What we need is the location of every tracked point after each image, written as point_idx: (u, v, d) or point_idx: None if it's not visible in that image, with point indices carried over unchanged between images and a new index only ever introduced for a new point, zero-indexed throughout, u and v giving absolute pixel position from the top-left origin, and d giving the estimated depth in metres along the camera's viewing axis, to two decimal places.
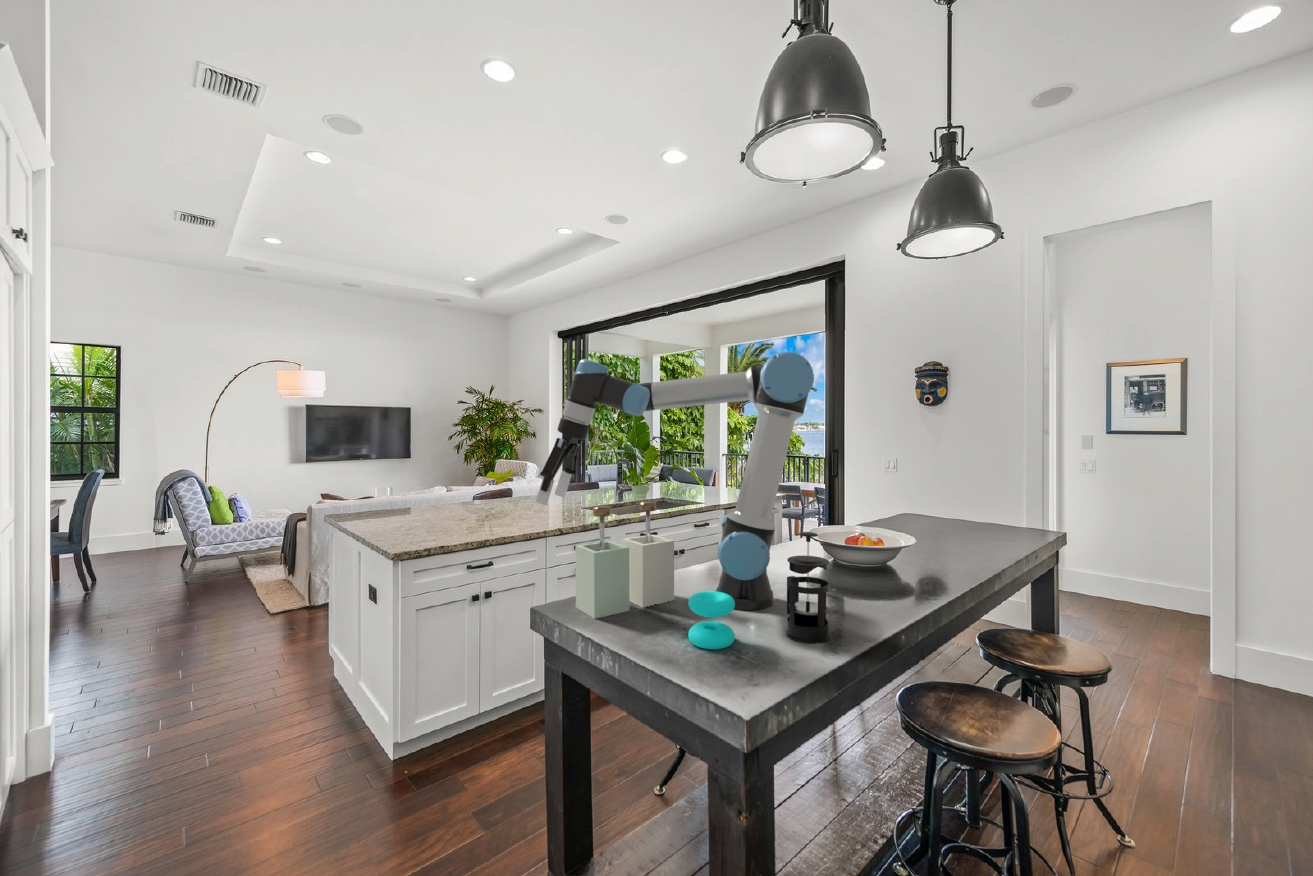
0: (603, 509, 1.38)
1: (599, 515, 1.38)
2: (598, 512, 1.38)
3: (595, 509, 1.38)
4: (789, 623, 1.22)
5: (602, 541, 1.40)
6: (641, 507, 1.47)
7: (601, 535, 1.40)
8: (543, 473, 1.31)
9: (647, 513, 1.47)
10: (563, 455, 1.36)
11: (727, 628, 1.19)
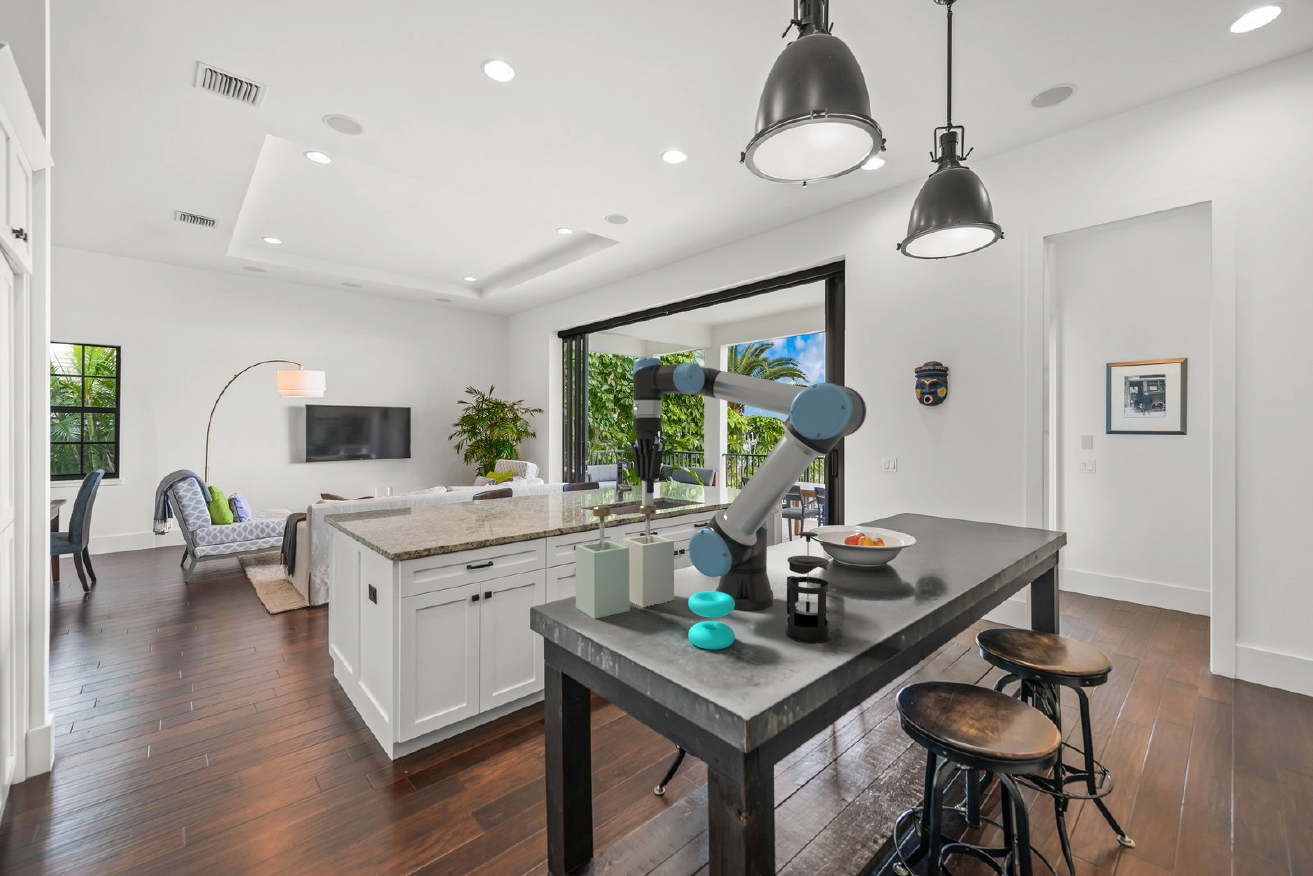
0: (603, 509, 1.38)
1: (599, 515, 1.38)
2: (598, 512, 1.38)
3: (595, 509, 1.38)
4: (789, 623, 1.22)
5: (602, 541, 1.40)
6: (641, 510, 1.47)
7: (601, 535, 1.40)
8: (653, 477, 1.44)
9: (647, 516, 1.47)
10: None
11: (727, 628, 1.19)
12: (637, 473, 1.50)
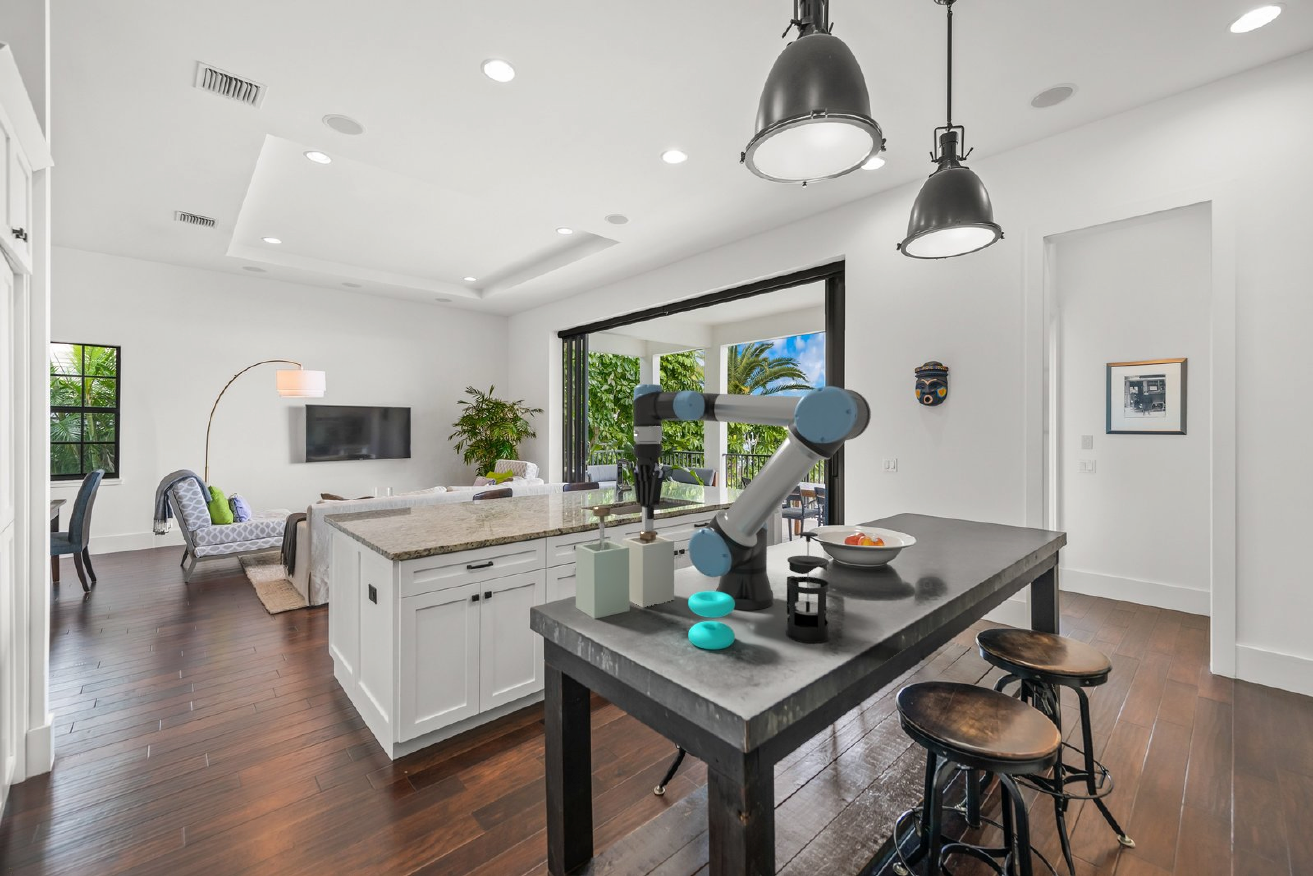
0: (603, 509, 1.38)
1: (599, 515, 1.38)
2: (598, 512, 1.38)
3: (595, 509, 1.38)
4: (789, 623, 1.22)
5: (602, 541, 1.40)
6: (641, 536, 1.47)
7: (601, 535, 1.40)
8: (653, 503, 1.45)
9: (647, 542, 1.48)
10: None
11: (727, 628, 1.19)
12: (637, 499, 1.50)
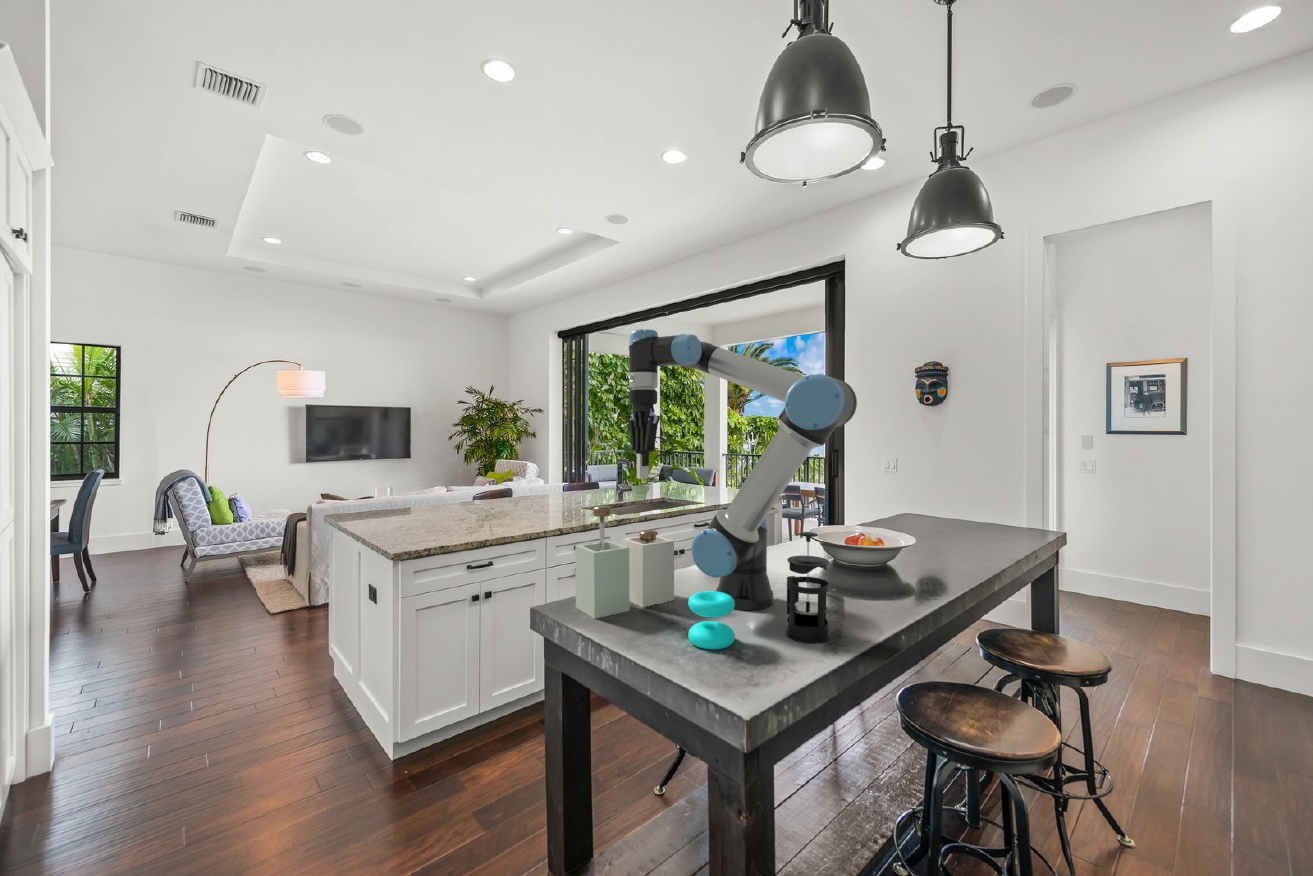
0: (603, 509, 1.38)
1: (599, 515, 1.38)
2: (598, 512, 1.38)
3: (595, 509, 1.38)
4: (789, 623, 1.22)
5: (602, 541, 1.40)
6: (641, 536, 1.47)
7: (601, 535, 1.40)
8: (648, 449, 1.44)
9: (647, 542, 1.48)
10: None
11: (727, 628, 1.19)
12: (632, 446, 1.49)
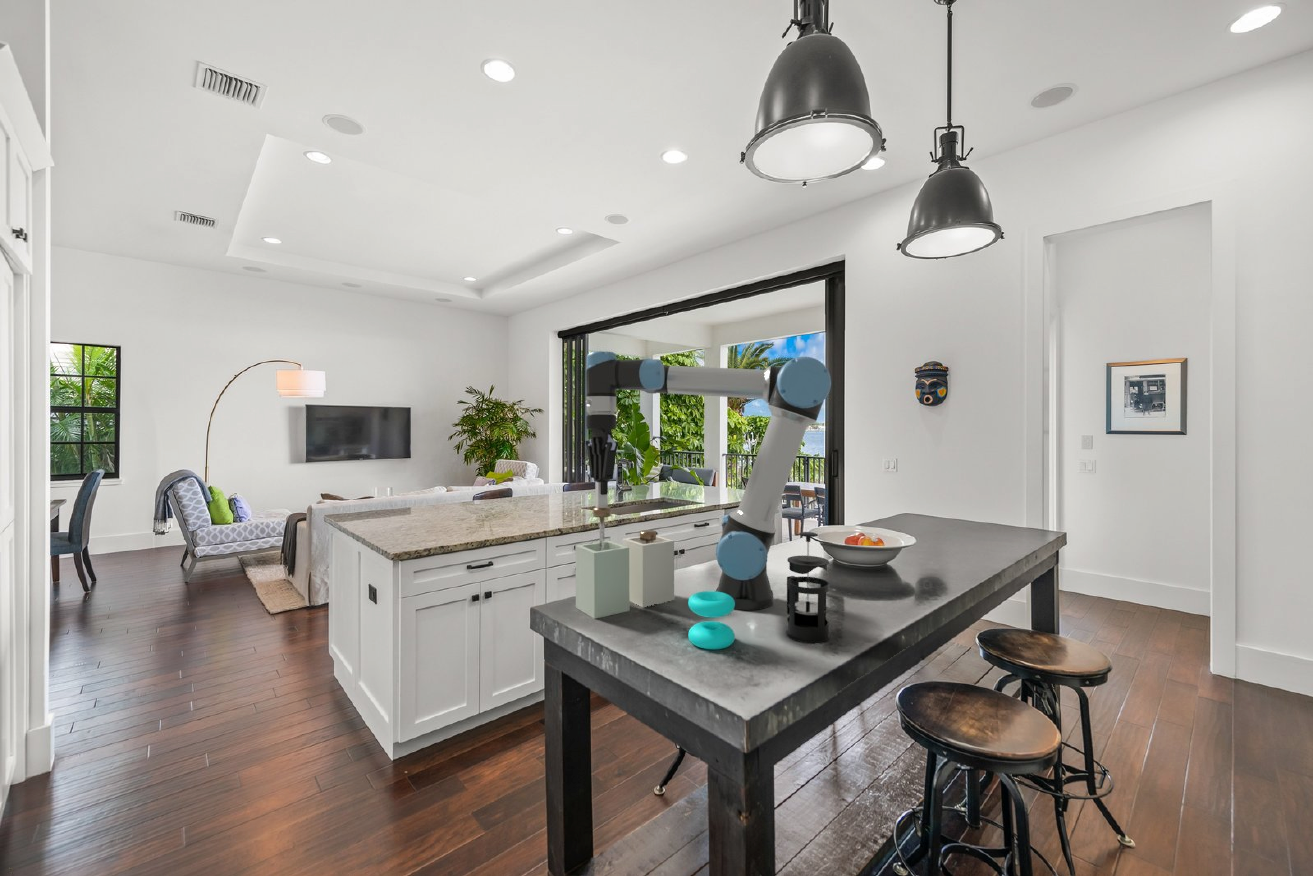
0: (603, 510, 1.38)
1: (599, 516, 1.38)
2: (598, 513, 1.38)
3: (595, 510, 1.38)
4: (789, 623, 1.22)
5: (602, 542, 1.40)
6: (641, 536, 1.47)
7: (601, 536, 1.40)
8: (606, 477, 1.36)
9: (647, 542, 1.48)
10: None
11: (727, 628, 1.19)
12: (591, 473, 1.42)
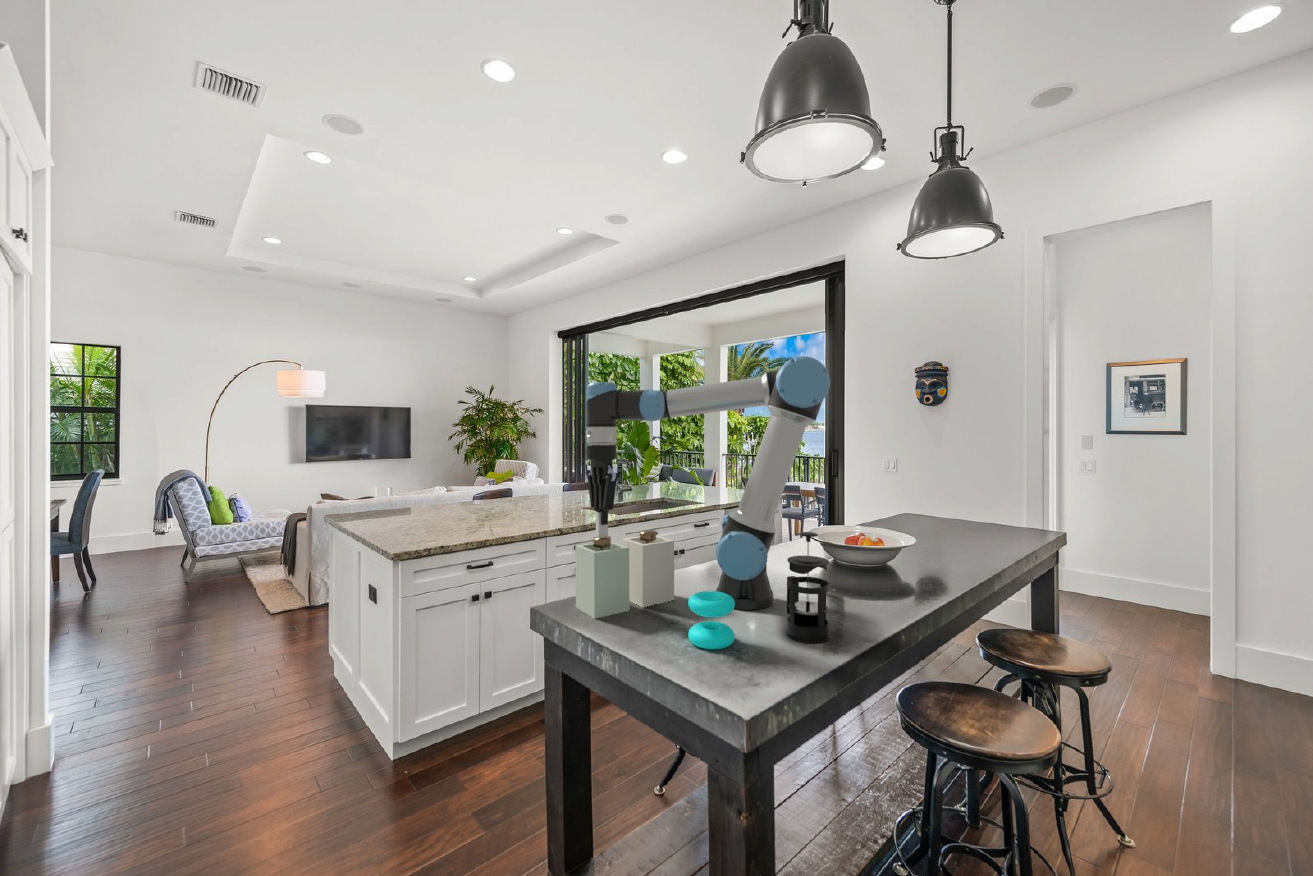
0: (603, 540, 1.38)
1: (599, 546, 1.38)
2: (598, 543, 1.38)
3: (595, 540, 1.39)
4: (789, 623, 1.22)
5: None
6: (641, 536, 1.47)
7: None
8: (606, 508, 1.37)
9: (647, 542, 1.48)
10: None
11: (727, 628, 1.19)
12: (591, 503, 1.42)
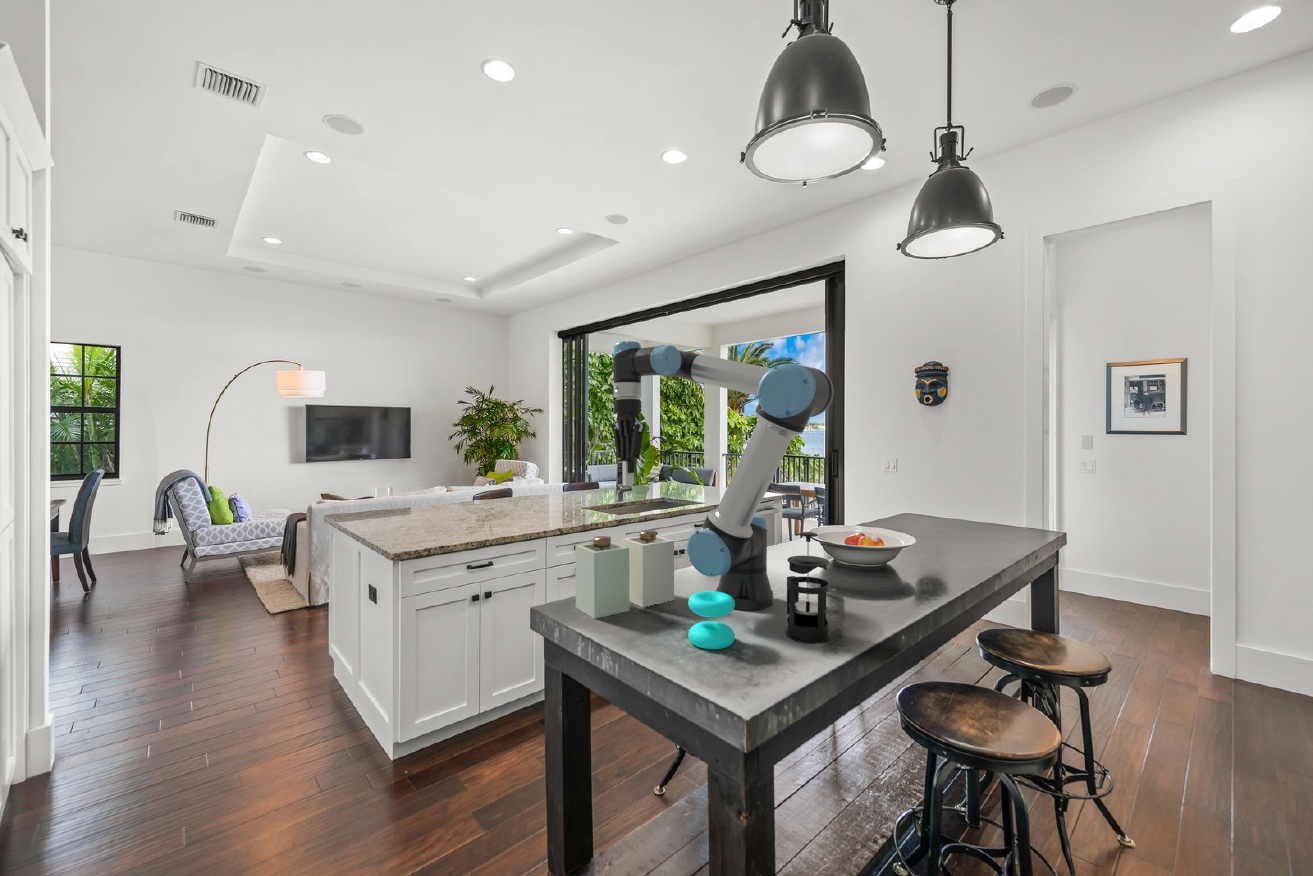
0: (603, 540, 1.38)
1: (599, 546, 1.38)
2: (598, 543, 1.38)
3: (595, 540, 1.39)
4: (789, 623, 1.22)
5: None
6: (641, 536, 1.47)
7: None
8: (634, 457, 1.49)
9: (647, 542, 1.48)
10: None
11: (727, 628, 1.19)
12: (618, 454, 1.54)
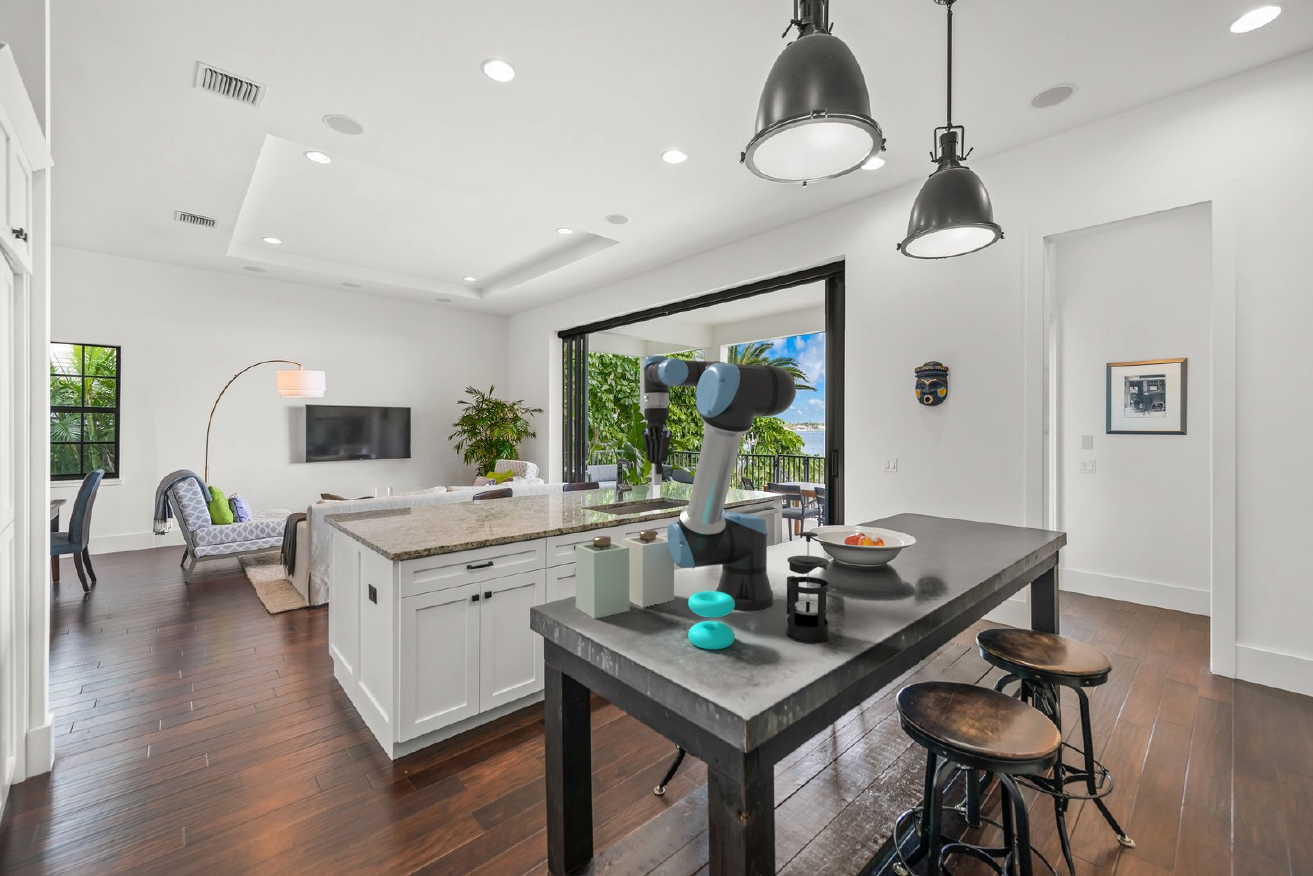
0: (603, 540, 1.38)
1: (599, 546, 1.38)
2: (598, 543, 1.38)
3: (595, 540, 1.39)
4: (789, 623, 1.22)
5: None
6: (641, 536, 1.47)
7: None
8: (661, 460, 1.65)
9: (647, 542, 1.48)
10: None
11: (727, 628, 1.19)
12: (647, 457, 1.71)
